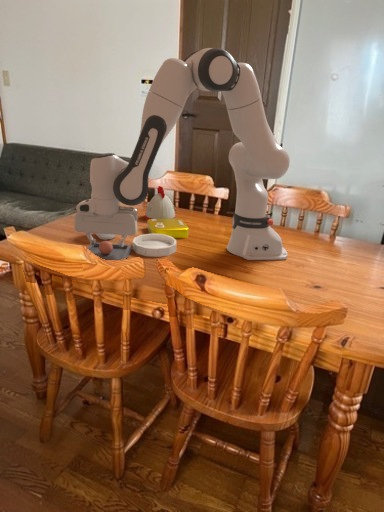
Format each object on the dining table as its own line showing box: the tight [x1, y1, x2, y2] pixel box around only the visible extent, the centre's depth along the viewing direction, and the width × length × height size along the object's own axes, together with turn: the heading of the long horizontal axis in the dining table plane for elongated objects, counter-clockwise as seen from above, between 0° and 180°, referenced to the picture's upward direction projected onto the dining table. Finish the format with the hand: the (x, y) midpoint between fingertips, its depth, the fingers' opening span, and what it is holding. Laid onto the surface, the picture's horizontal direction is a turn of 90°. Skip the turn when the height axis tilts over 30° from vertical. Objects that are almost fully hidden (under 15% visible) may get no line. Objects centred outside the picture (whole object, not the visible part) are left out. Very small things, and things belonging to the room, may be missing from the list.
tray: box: [87, 242, 133, 260], centre depth 119 cm, size 14×14×2 cm
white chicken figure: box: [145, 185, 176, 221], centre depth 161 cm, size 14×14×15 cm
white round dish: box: [132, 233, 177, 258], centre depth 128 cm, size 16×16×3 cm
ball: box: [99, 240, 113, 254], centre depth 118 cm, size 5×5×5 cm
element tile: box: [146, 217, 190, 240], centre depth 145 cm, size 15×15×5 cm
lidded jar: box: [94, 233, 117, 241], centre depth 135 cm, size 11×11×9 cm
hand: (107, 245), depth 117 cm, fingers open, 8 cm apart
